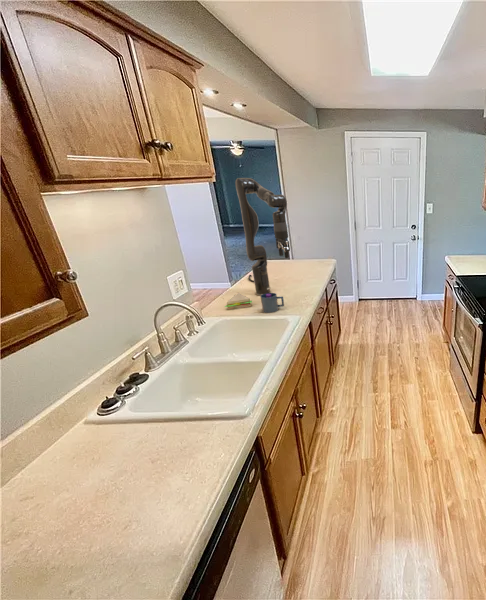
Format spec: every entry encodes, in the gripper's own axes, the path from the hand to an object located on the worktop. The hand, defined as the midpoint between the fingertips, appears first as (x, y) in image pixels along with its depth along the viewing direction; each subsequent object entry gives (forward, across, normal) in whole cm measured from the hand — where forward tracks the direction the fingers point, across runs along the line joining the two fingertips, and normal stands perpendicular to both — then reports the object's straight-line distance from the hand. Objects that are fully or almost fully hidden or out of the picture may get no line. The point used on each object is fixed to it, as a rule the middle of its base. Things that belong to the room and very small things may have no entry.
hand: (284, 256), depth 200 cm
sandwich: (+30, +19, +24) cm, 43 cm away
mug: (+30, -5, +12) cm, 33 cm away
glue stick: (+30, -4, +14) cm, 33 cm away
